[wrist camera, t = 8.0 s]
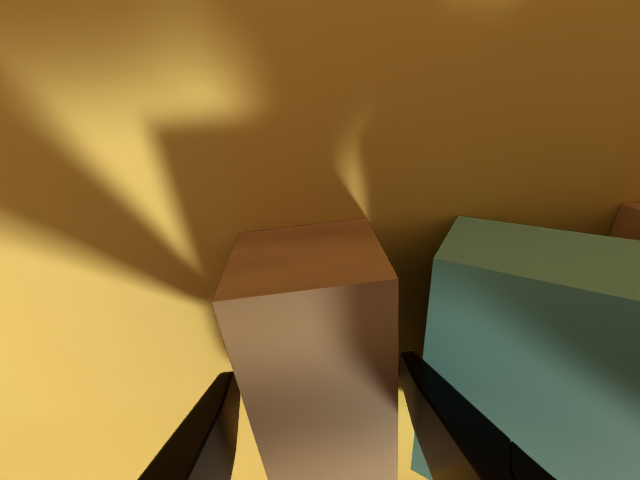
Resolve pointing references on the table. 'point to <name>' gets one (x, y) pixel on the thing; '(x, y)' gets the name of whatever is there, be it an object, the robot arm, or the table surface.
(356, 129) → the table surface
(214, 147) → the table surface
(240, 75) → the table surface
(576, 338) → the slab
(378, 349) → the block
